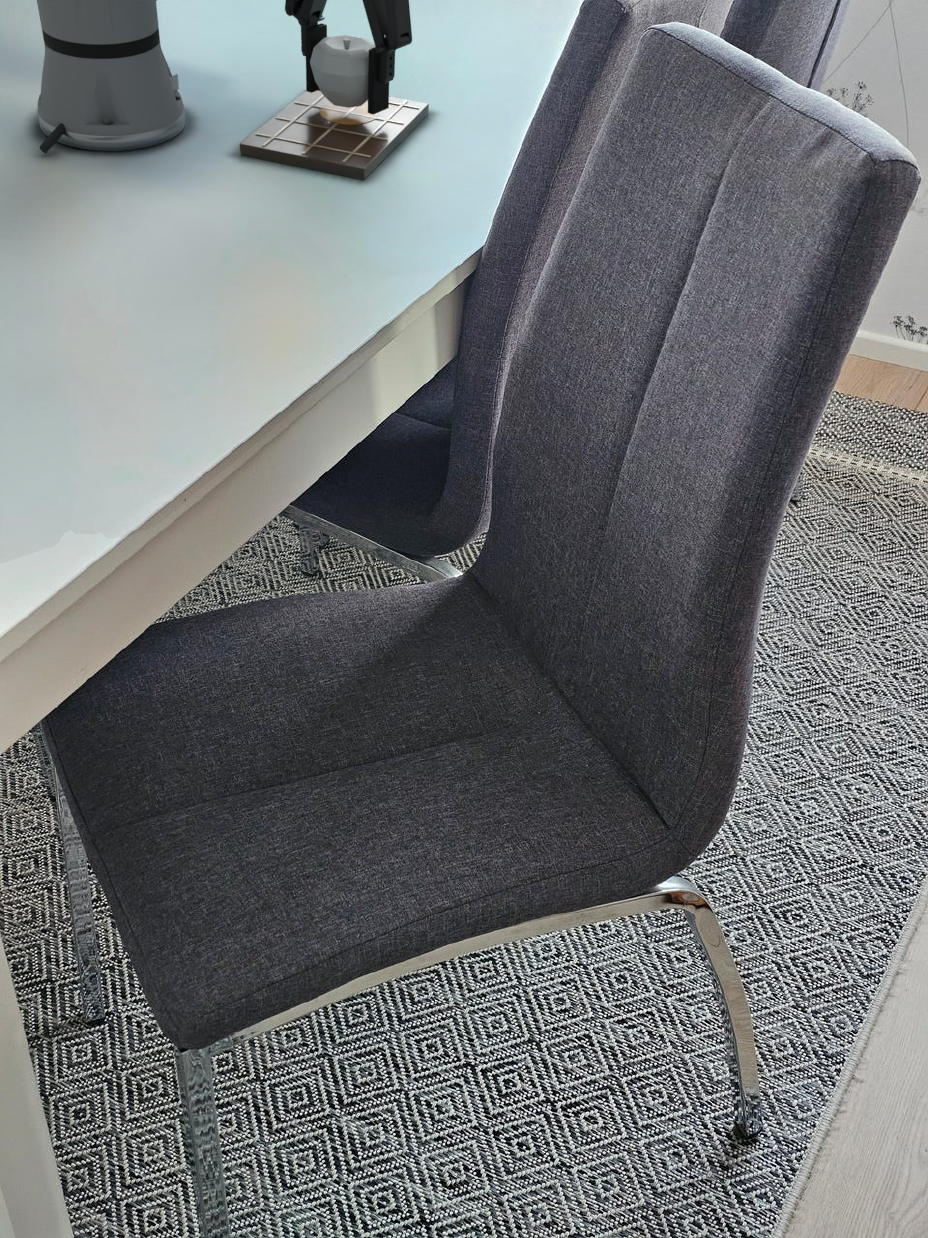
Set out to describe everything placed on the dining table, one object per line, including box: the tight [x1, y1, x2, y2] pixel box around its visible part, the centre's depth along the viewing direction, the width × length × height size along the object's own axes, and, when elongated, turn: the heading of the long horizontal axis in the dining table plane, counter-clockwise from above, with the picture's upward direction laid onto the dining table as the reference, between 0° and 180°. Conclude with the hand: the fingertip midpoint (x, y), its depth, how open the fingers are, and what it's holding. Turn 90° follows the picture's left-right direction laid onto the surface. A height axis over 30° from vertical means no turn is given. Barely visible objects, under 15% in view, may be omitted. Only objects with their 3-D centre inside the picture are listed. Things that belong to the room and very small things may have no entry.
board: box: [239, 90, 430, 181], centre depth 131 cm, size 20×14×1 cm
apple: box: [310, 34, 375, 108], centre depth 130 cm, size 8×8×7 cm
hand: (347, 98), depth 132 cm, fingers closed on apple, 8 cm apart
